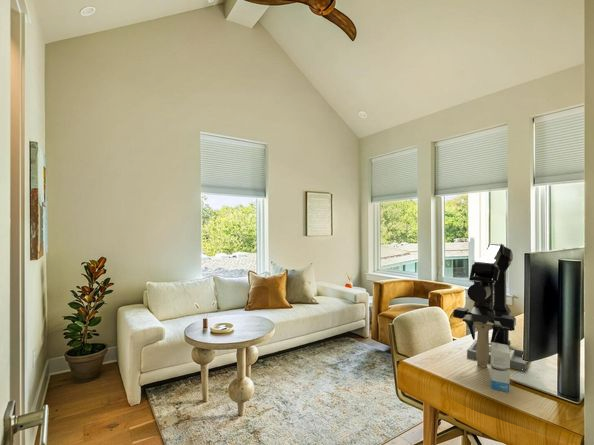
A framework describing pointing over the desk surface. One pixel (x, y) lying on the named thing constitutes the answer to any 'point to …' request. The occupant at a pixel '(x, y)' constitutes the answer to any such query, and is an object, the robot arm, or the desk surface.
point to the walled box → (515, 356)
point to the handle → (482, 343)
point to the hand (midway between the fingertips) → (482, 341)
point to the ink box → (500, 367)
